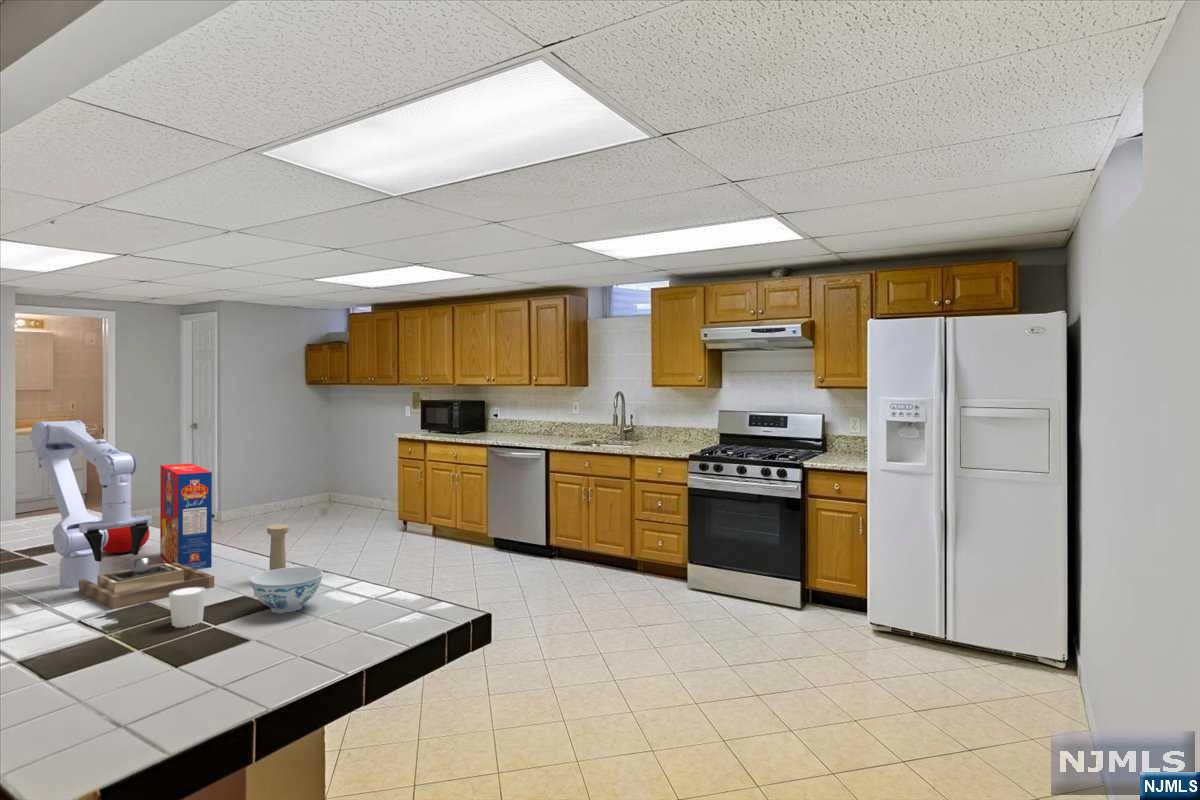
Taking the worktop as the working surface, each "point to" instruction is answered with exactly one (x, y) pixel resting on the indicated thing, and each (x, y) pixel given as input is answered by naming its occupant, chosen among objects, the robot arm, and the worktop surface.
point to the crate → (140, 579)
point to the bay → (146, 595)
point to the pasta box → (186, 515)
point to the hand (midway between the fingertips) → (116, 557)
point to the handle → (277, 546)
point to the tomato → (121, 540)
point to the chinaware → (286, 587)
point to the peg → (140, 566)
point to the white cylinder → (187, 606)
